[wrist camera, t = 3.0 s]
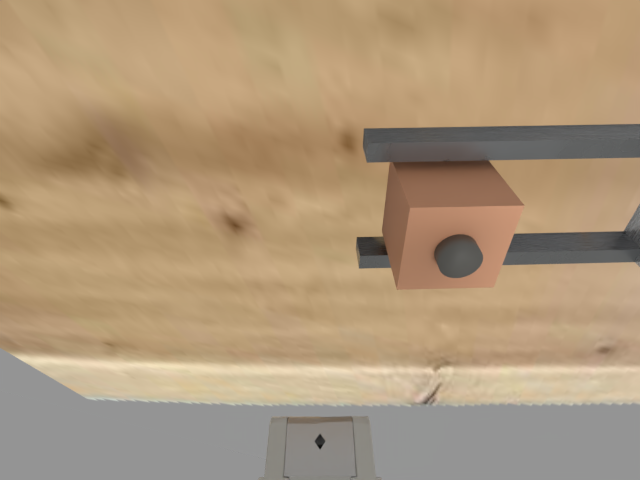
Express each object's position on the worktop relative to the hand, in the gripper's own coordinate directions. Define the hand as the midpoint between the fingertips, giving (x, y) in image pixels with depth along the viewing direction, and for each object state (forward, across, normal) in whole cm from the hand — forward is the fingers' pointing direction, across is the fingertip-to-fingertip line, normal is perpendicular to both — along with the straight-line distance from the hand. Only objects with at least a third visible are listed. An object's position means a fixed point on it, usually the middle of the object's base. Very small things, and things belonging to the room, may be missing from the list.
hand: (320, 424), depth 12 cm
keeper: (+13, +6, 0) cm, 15 cm away
